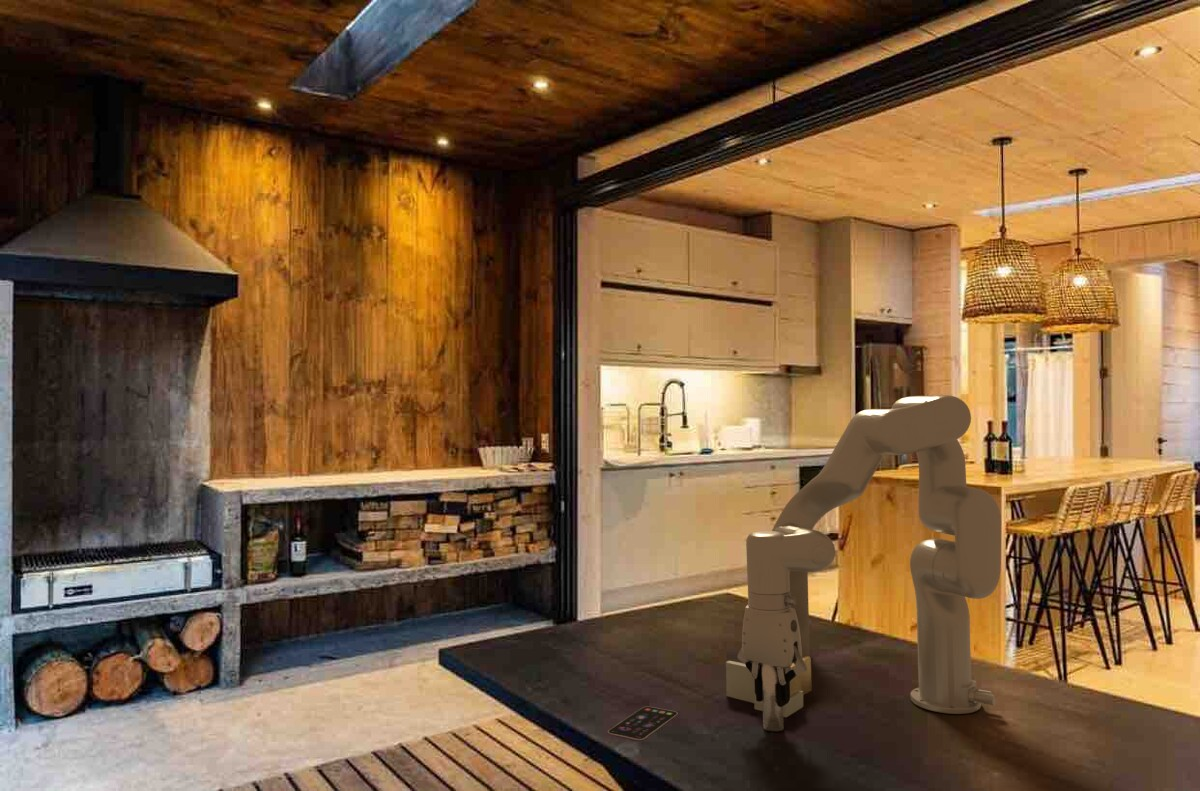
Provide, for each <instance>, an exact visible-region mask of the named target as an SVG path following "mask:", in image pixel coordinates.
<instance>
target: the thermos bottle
mask: <svg viewBox="0 0 1200 791" xmlns="http://www.w3.org/2000/svg"><path fill="white" fill-rule="evenodd" d="M808 573H809V572H804V571H790V572H789V578H790V592H791V596H792V597H793V598H796V599H797V603H796V605H791V608H794V609H795V611H796V615H797V619H798V624H799V629H800V637H801V646H802V658H804V657H806V656H808V657H811V656H810V620H809V619H810V616H809V615H810V613H809V612H810V611H809V574H808Z"/></svg>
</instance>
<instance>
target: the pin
mask: <svg viewBox="0 0 1200 791" xmlns="http://www.w3.org/2000/svg"><path fill="white" fill-rule="evenodd" d="M761 675H762V703H763V711H762V726H763V727H762V728H763V729H764V730H766V731H768V732H773V733H774V732H780V731H783V730H784V727H785V726H784V725H785V724H784V717H783V706H782V707H779V706H778V705H777V684H779V677H778V671H777V667H776V666H771V665H768V664H761Z"/></svg>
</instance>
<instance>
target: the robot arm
mask: <svg viewBox="0 0 1200 791" xmlns="http://www.w3.org/2000/svg"><path fill="white" fill-rule="evenodd" d="M971 420H972V415H971V410H970V408H969V407H968V405H967V403H966V402H965V401H964V400H963V399H961V398H959V397H957V396H954V395H946V394H945V395H943V394H941V395H939V394H938V395H911V396H906V397H902V398H899V399H898V400H896V401H895V402H894V403H893V404H892V406H891V408H869V409H864V410H863V409H862V410H861V411H859V412H857V413H856V414H854V416H853V417H852V418H851V419H850V421H849V422H848V425H847V426H846V428H845V429H844V431H843V433H842V434H841V436H840V438H839V440H838V441H837V444H836V445H835V447H834V448H833V450H832V452H831V454H830V455H829V457H828V459H827V461H826V463H825V464H824V465H823V468H822V469H821V470H820V472H819V473H818V474H817V475H816V476H815V477H813V478H812V479H811V480H809V481H808V482H807V483H806V484H805V485H804V486H803V487H802V488H800V490H798V491H797V492H796V493H795V494H794V495H793V496H792V497H791V498H790V500H789V501H788V502H787V503H786V505H785V506H784V507H783V509H782V511H781V513H780V514H779V516H778V519H776V521H775V524H774V525H773V527H772V529H771V530H759V531H758V530H757V531H753V532H751V533H749V534H748V535H747V537H746V546H745V548H746V573H747V577H746V578H747V602H748V603H747V605H746V606H745V610H744V612H743V613H744V615H743V621H742V634H741V642H742V643H741V648H740V650H739V652H738V653H737V659H738V660H739V661H740V663H743V664H745V665H746V667H747V668H748V670H749V671H750V672H751V676H752V678H754V681H755V694H756V701H758V702H760V701H762V675H761V664H768V665H771V666H776V667H777V671H778V677H779V684H777V705H778V706H779V707H782V706H784V705H786V704H787V703H788V702H789V700H790V681H792V679H793V678H794V677H795V676H797V675H799V674H801V673H803V672H805V671H806V670H807V667H806V665H805V663H804V661H803V659H802V646H801V637H800V629H799V624H798V619H797V615H796V611H795V609H794V608H791V605H796V603H797V599H796V598H793V597H792V596H791V592H790V578H789V572H790V571H804V572H808V573H816V572H821V571H823V570H826V569H827V568H828V567H829V566H830V565H831V564H832V563H833V562H834V560H835V556H836V548H835V544H834V542H833V540H832V539H831V538H830V537H829V536H828V535H826V534H825V533H824V532H821V531H819V530H816V529H814V528H815V526H816V525H817V523H819V521H820V520H821V519H822V518H824V516H826V514H828V513H830V512H831V511H833V510H834V509H836V508H838V507H840V506H842V505H845V504H849V503H850V502H852V501H854V500H856V499H858V498H860V497H861V496H863V494H864V492H865V491H866V489H867V487H868V485H869V483H870V481H871V480H872V478H873V476H874V475H875V473H876V471H877V469H878V468H879V466H880V464H881V462H882V460H883V459H884V457H885V456H886V455H891V456H904V455H910V454H915V453H916V457H917V462H918V516H919V520H920V522H921V524H922V525H923V526H924V527H925V528H927V529H928V530H931V531H933V532H937V533H941V534H945V535H948V536H949V535H951V536H954V540H955V541H952V540H948V539H943V538H929V539H926V540H922V541H921V542H919V543H918V544H916V546H915V547H914V548H913V549H912V551H911V554H910V560H909V568H910V575H911V578H912V584H913V588H914V594H915V604H916V605H915V606H916V630H917V631H916V632H917V633H916V634H917V637H916V638H917V668H918V670H917V671H918V672H917V674H918V687H916V688H914V689H912V690H911V691H910V692H909V693H910V700H911V701H912V703H913V704H914V705H916V706H918V707H920V708H922V709H925V710H928V711H932V712H936V713H941V714H948V715H951V714H952V715H961V714H962V715H963V714H965V715H966V714H971V713H975V712H977V711H978V710H979V711H980V709H981V707H982V704H985V705H989V706H994V707H995V705H996V695H995V694H993V693H992V691H991V690H985V689H980V688H979V687H977V680H973V679H972V661H971V660H972V659H971V658H972V655H971V654H972V653H971V628H970V627H971V626H970V624H971V620H970V619H971V618H970V609H969V604H968V601H967V598H968V599H974V600H975V599H976V600H980V599H981V600H982V599H985V598H987V597H989V596H991V595H992V594H993V593H994V592H995V590H997V586H998V585H999V582H1000V577H1001V571H1002V567H1001V566H1002V515H1001V510H1000V508H999V505H998V503H997V501H996V499H995V498H994V497H993V496H992V495H991V494H990V493H989V492H988V491H985V490H984V489H981V488H978V487H972V486H967V485H968V484H967V473H966V472H967V471H966V470H967V468H966V458H965V454H964V450H963V447H962V445H961V443H960V441H959V439H960V438H961V437H963V436H964V435H965V434H966V433H967V431H969V428H970V426H971V422H972V421H971ZM792 663H794V664H795V668H794V669H792V670H791V666H792Z"/></svg>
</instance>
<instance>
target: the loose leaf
mask: <svg viewBox="0 0 1200 791" xmlns="http://www.w3.org/2000/svg"><path fill="white" fill-rule="evenodd" d="M725 677H726V678H725V680H726V684H725V685H726V689H725V690H726V697H729V698H732V699H737V700H740V701H744V702H748V703H752V704H754V707H753V708H754V710H757V711H761V712H763V703H762V701H760V702H758V701H756V694H755V681H754V678H752V676H751V672H750V671H749V670H748V668H747V667H746V665H745V664H743V663H742V662H738V661H734V660H733V661H732V660H727V661H726V662H725ZM802 708H804V695H803V691H800V690H799V691H798V692H796V693H794V694H793V695H791V696H790V700H789V702H788V703H787V704H786V705H784V706H783V718H787V717H789V716H791V715H793V714H794V713H796V712H797V711H799V710H800V709H802Z"/></svg>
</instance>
